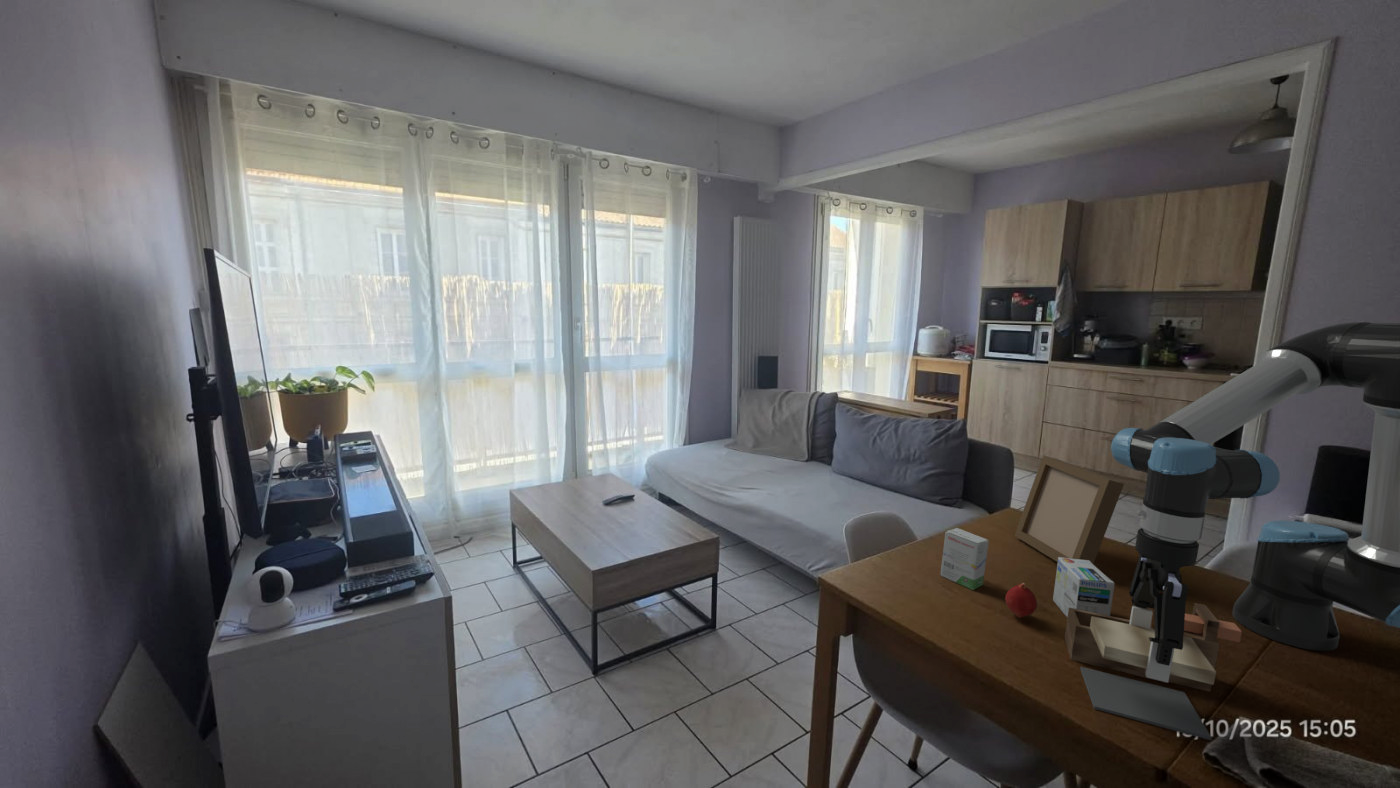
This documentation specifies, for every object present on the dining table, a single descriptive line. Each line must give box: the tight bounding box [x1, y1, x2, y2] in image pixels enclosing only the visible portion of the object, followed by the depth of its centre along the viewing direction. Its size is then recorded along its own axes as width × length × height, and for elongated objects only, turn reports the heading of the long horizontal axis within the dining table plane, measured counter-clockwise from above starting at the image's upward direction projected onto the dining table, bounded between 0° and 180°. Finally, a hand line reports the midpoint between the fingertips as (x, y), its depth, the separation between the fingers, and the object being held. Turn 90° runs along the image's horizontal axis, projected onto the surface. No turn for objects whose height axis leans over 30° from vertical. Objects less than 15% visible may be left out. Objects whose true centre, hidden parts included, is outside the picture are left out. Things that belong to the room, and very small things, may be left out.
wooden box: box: [1064, 602, 1221, 692], centre depth 100 cm, size 20×7×13 cm, turn 65°
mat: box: [1080, 666, 1213, 741], centre depth 91 cm, size 15×11×1 cm
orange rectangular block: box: [1184, 612, 1243, 643], centre depth 95 cm, size 8×3×2 cm, turn 65°
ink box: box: [940, 527, 990, 591], centre depth 130 cm, size 9×5×12 cm, turn 34°
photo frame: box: [1014, 455, 1125, 565], centre depth 143 cm, size 15×22×25 cm
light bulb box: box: [1052, 557, 1115, 618], centre depth 116 cm, size 11×7×11 cm, turn 168°
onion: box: [1004, 582, 1038, 619], centre depth 115 cm, size 6×6×8 cm
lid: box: [1090, 616, 1217, 686], centre depth 89 cm, size 14×10×2 cm
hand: (1146, 659), depth 90 cm, fingers closed on lid, 10 cm apart
